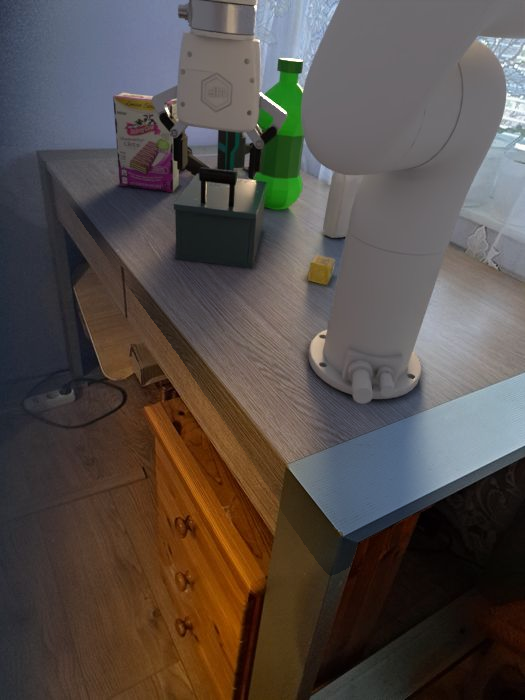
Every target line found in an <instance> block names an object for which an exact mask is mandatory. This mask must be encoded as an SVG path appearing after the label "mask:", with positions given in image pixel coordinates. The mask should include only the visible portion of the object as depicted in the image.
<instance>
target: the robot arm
mask: <svg viewBox="0 0 525 700" xmlns="http://www.w3.org/2000/svg"><path fill="white" fill-rule="evenodd" d="M257 7H258V0H188V2H187V3H185V4H180V3H179V4H178V6H177V17H178V19H184V21H187V23H188V27H190V30H188V31H187V30H186V31H183V32H182V38H181V44H180V49H179V50H180V51H179V58H178V68H177V69H178V70H177V84H176V85H174V86H172V87H170V88H168V89H165V90H164V91H161V92H159V93H157V94H155V95H153V97H152V100H151V101H152V103H153V105H154V108H155V110H156V112H157V114H158V115H159V119H160V121H161V123H162V124H163V125H164V126H165V127H166V128H167V130H168V131H169V132H170V135H171V137H173V159H174V161H177V170H180V171H183V170H182V169H184V167H185V166H186V165H187V157H188V147H189V146H188V145H189V144H188V138H189V136H188V135H187V133H186V130H187V128H188V127H194V128H199V129H200V128H201V129H207V130H214V131H215V130H216V131H218V130H222V131H230V132H239V133H244V134H246V135H247V136H248V138H249V139H250V141H251V143H253V144H252V146H251V148H250V153H249V159H248V167H249V170H248V171H247V179H248V180H253V179H254V177H255V175H256V173H257V172H260V168H261V158H262V148H263V146H264V145H265V144H267V143H268V142H269V141H270V140H271V139H273V138H274V137H275V136H276V134H277V133H278V131H279V130H280V128H281V126H282V125H283V123H284V122H285V120H286V118H287V112H286V111H284V110H283V109H282V108H280V107H279V106H278V105H276V104H275V103H274V102H272V101H271V100H270V99H268V98H267V97H266V96H264V94H263V93H262V52H261V43H260V39H257V38H255V36H256V35H255V34H256V21H257V10H258V8H257ZM478 37H480V38H481V37H482V38H483V37H484V38H495V39H508V40H509V39H513V40H522V39H524V40H525V0H338V3H337V5H336V7H335V10H334V11H333V14H332V16H331V19H330V20H329V23H328V24H327V27H326V29H325V31H324V34H323V36H322V38H321V40H320V42H319V45H318V46H317V49H316V52H315V53H314V56H313V58H312V61H311V64H310V66H309V69H308V72H307V74H306V79H305V82H304V85H303V95H302V103H301V124H302V131H303V135H304V142H305V145H306V146H307V148H308V150H309V152H310V154H311V155H312V156H313V157H314V159H315V160H316V161H317V162H318V163H319V164H320V165H322V166H323V167H325V168H326V169H327V170H330V171H332V172H333V173H334V172H337V173H341V174H345V175H364V177H363V179H362V181H361V183H360V185H359V187H358V190H357V193H356V195H355V198H354V202H353V205H352V209H351V213H350V218H349V223H348V228H347V233H346V236H345V238H344V243H343V248H342V253H341V258H340V264H339V268H338V274H337V279H336V284H335V287H334V288H335V289H334V293H333V298H332V299H333V300H332V304H331V308H330V314H329V319H328V324H327V328H326V329H325V330H322V331H320V332H319V333H317V334H316V335H315V336H314V337H313V339H311V342H310V344H309V348H308V362H309V364H310V366H311V367H310V368H311V369H312V370H313V371H314V373H315V374H316V375H317V376H318V377H319V378H320V379H321V380H322V381H323V382H325V383H326V384H327V385H329V386H331V387H332V388H334V389H336V390H338V391H340V392H343V393H346V394H348V395H350V396H352V398H353V401H354V402H356V403H357V404H368V403H370V402H371V401H372V400H389V399H393V398H399V397H402V396H404V395H406V394H408V393H410V392H412V390H414V389H415V388H416V386H417V385H418V383H419V380H420V378H421V375H422V370H423V369H422V363H421V361H420V359H419V357H418V355H417V354H416V352H415V351H414V349H415V346H416V343H417V341H418V337H419V334H420V331H421V329H422V325H423V322H424V320H425V316H426V312H427V310H428V307H429V303H430V300H431V298H432V294H433V291H434V289H435V286H436V283H437V280H438V277H439V273H440V271H441V268H442V264H443V262H444V259H445V256H446V252H447V250H448V247H449V246H450V242H451V239H452V236H453V234H454V232H455V227H456V225H457V222H458V219H459V216H460V213H461V211H462V208H463V205H464V203H465V201H466V198H467V196H468V193H469V191H470V189H471V186H472V185H473V183H474V180H475V178H476V176H477V174H478V172H479V170H480V168H481V166H482V165H483V163H484V160H485V159H486V157H487V155H488V152H489V151H490V149H491V147H492V145H493V142H494V140H495V139H496V137H497V134H498V131H499V129H500V126H501V124H502V121H503V117H504V114H505V109H506V103H507V93H508V92H507V91H508V90H507V80H506V75H505V71H504V68H503V66H502V64H501V62H500V59H498V57H497V55H496V54H495V53H494V51H493V50H492V49H490V48H489V47H488V45H486V44H484V42H482V41H479V40H477V38H478ZM173 99H176V100H177V117H178V122H177V121H176V119H175V118H174V117H173V116H172V114H171V113H170V112H169V111H168V108H167V102H168V101H171V100H173ZM260 108H262V109H263V110H264V111H266V112H267V113H268V114H270V115H271V116H272V117H273V122H272V124H271V125H270V127H268V128H267V129H266V130H265V131H264V132H263V133H262V130H261V128H260V127H259V125H258V124H257V122H258V119H259V114H260Z"/></svg>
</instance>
